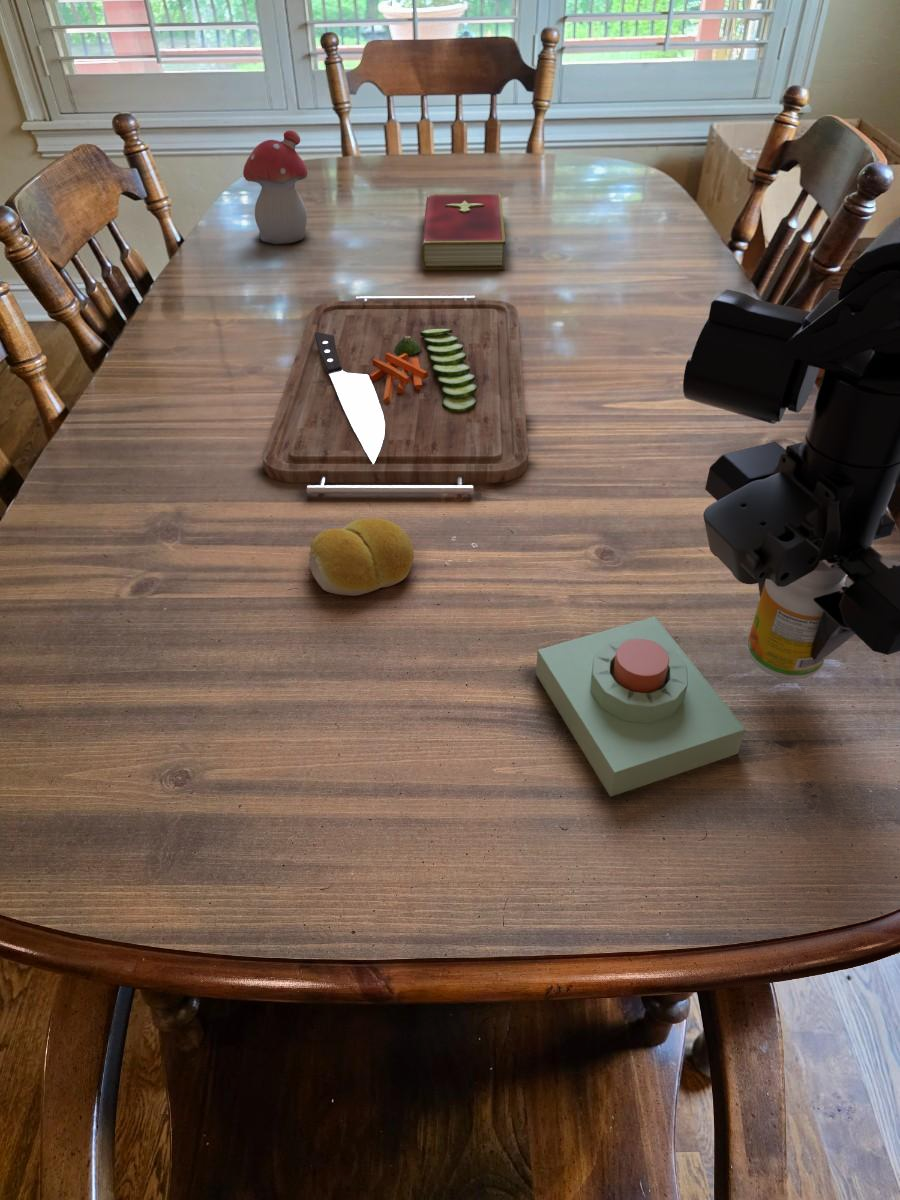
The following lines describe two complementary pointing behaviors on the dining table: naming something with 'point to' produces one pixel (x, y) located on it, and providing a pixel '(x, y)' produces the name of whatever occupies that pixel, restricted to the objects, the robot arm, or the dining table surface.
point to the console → (636, 709)
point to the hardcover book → (463, 232)
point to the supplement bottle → (791, 623)
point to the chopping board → (403, 397)
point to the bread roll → (361, 557)
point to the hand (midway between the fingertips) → (792, 630)
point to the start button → (641, 665)
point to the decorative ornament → (278, 189)
